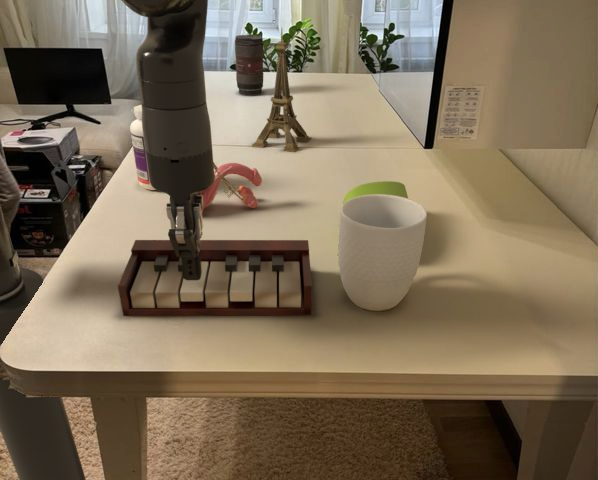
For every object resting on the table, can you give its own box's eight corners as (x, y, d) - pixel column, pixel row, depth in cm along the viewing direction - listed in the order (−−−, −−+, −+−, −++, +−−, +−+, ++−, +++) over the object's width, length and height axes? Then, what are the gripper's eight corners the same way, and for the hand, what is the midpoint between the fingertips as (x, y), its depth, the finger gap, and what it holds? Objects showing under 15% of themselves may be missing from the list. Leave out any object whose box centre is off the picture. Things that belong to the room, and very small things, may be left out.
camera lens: (263, 96, 173) (262, 39, 164) (235, 96, 173) (233, 38, 164) (264, 90, 180) (263, 34, 171) (237, 89, 179) (235, 34, 171)
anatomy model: (278, 195, 104) (217, 133, 95) (223, 248, 107) (159, 194, 98) (266, 175, 112) (208, 116, 103) (215, 225, 115) (155, 173, 106)
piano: (122, 315, 78) (116, 282, 75) (140, 270, 88) (135, 239, 85) (311, 315, 79) (312, 282, 76) (307, 270, 89) (308, 239, 86)
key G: (230, 301, 78) (229, 292, 77) (234, 270, 85) (233, 261, 84) (252, 301, 78) (252, 292, 77) (254, 270, 85) (254, 261, 84)
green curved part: (343, 161, 101) (362, 218, 86) (411, 173, 103) (441, 231, 88) (331, 203, 106) (348, 264, 90) (396, 214, 108) (423, 275, 93)
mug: (369, 262, 92) (377, 179, 84) (437, 282, 87) (452, 196, 79) (319, 304, 81) (323, 214, 74) (393, 330, 77) (405, 236, 69)
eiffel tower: (251, 146, 136) (248, 22, 121) (270, 133, 144) (268, 16, 129) (294, 152, 133) (296, 26, 118) (311, 138, 141) (314, 19, 126)
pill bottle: (185, 178, 119) (177, 102, 111) (174, 193, 113) (165, 114, 104) (145, 176, 120) (135, 100, 111) (133, 191, 113) (120, 112, 105)
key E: (180, 301, 78) (179, 292, 77) (188, 270, 85) (187, 261, 84) (203, 301, 78) (202, 292, 77) (209, 270, 85) (208, 261, 84)
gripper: (154, 126, 73) (171, 254, 83) (134, 163, 62) (155, 304, 72) (216, 127, 73) (225, 254, 83) (206, 163, 62) (217, 304, 73)
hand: (193, 277), depth 78 cm, fingers closed
